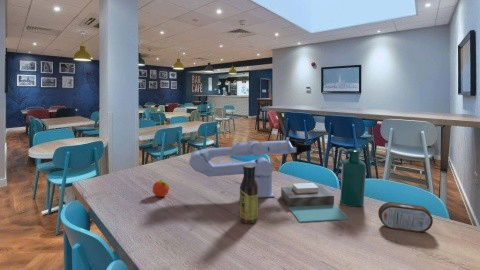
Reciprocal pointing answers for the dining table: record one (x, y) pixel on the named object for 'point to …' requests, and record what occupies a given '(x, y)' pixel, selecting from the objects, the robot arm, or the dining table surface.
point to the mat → (318, 213)
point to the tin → (405, 217)
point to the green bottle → (352, 179)
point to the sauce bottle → (249, 195)
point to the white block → (305, 188)
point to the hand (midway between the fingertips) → (307, 145)
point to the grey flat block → (306, 197)
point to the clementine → (160, 188)
